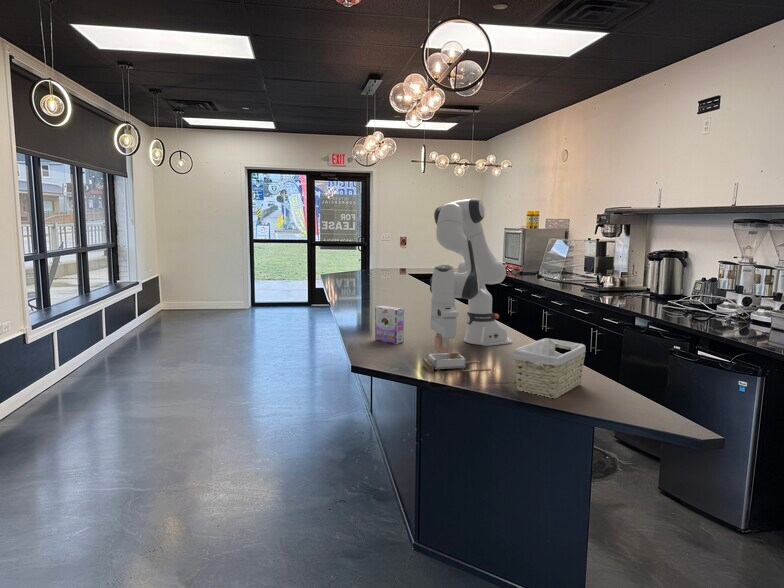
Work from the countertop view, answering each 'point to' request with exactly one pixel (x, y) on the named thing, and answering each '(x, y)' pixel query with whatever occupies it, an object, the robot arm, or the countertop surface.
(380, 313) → the candy box
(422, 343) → the countertop surface
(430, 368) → the track
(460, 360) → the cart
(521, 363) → the storage basket
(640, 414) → the countertop surface
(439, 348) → the block
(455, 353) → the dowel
